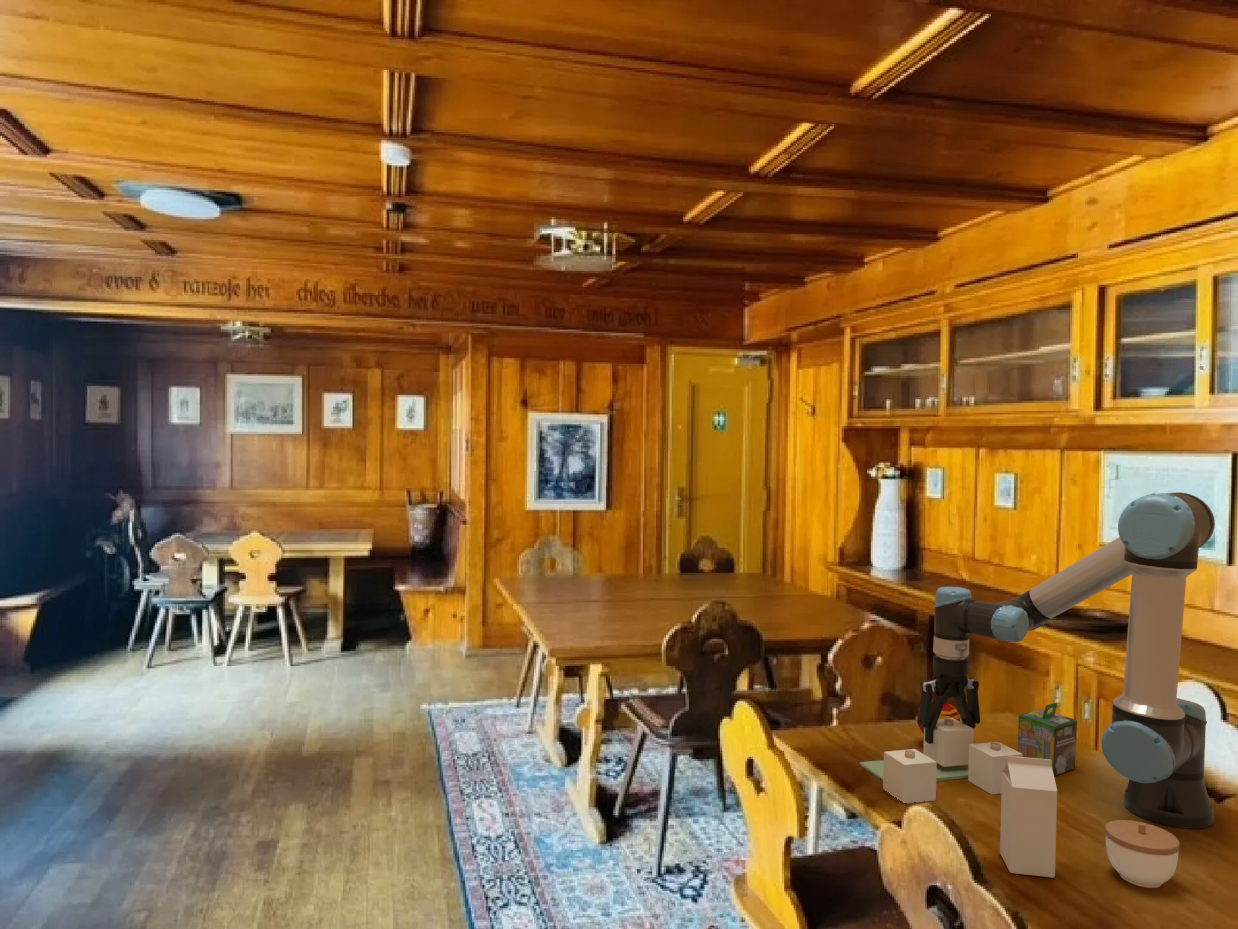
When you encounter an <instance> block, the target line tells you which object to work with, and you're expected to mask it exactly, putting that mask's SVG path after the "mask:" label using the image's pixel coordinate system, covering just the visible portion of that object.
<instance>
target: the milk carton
mask: <svg viewBox="0 0 1238 929" xmlns="http://www.w3.org/2000/svg"><path fill="white" fill-rule="evenodd" d="M1000 797H1001V803H1000V807H1001V808H1000V837H999V838H1000V841H999V853H1000V855H1001V858H1002V859H1003V862H1004V863H1005V865H1006V867H1007V870H1008V871H1009V873H1011V874H1017V875H1026V876H1036V877H1045V878H1056V877H1055V876H1056V854H1057V853H1056V849H1057V848H1056V846H1057V816H1058V815H1057V813H1058V812H1057V809H1058V788H1057V784H1056V779H1055V776H1054V774H1053V770H1052V760H1050V759H1038V758H1026V757H1014V756H1008V757H1007V764H1006V765H1005V767H1004V769H1003V771H1002V794H1001V796H1000Z"/></svg>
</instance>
